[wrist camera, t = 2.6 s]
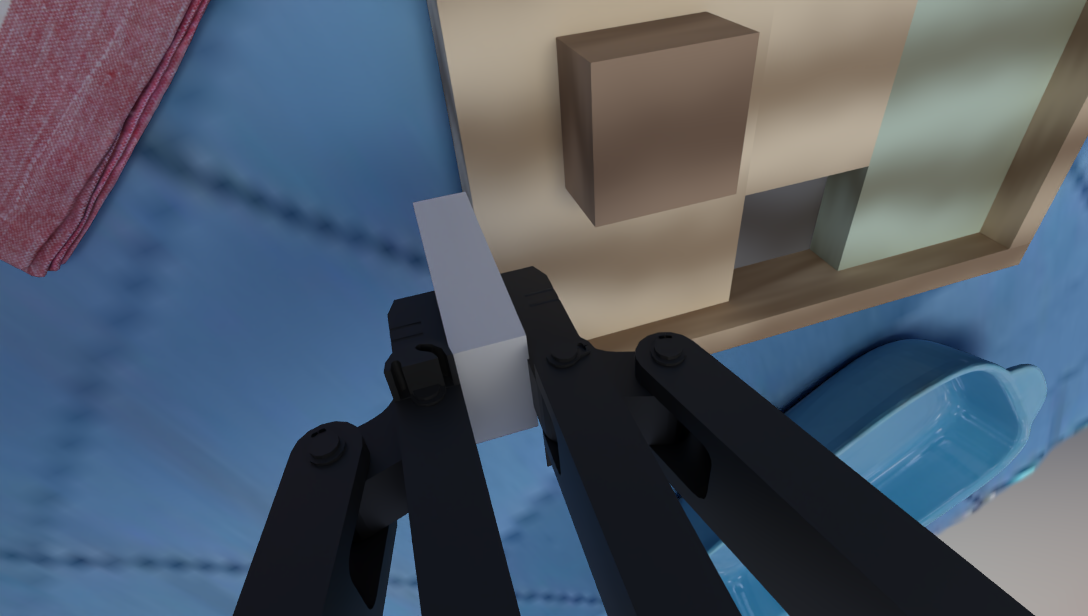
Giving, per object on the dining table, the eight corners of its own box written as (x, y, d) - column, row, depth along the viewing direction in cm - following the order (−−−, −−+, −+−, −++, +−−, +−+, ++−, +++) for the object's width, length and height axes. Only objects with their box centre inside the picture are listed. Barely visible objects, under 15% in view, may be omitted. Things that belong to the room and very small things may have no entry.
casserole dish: (939, 259, 41) (1034, 319, 36) (996, 377, 54) (1071, 434, 49) (572, 555, 50) (603, 638, 45) (699, 593, 64) (734, 661, 58)
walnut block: (555, 37, 21) (590, 63, 18) (706, 11, 22) (759, 32, 19) (565, 187, 25) (595, 227, 22) (692, 159, 26) (736, 193, 23)
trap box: (355, -379, 16) (367, -454, 12) (1214, -404, 21) (1406, -461, 18) (491, 347, 33) (514, 411, 29) (949, 224, 38) (1018, 264, 35)
